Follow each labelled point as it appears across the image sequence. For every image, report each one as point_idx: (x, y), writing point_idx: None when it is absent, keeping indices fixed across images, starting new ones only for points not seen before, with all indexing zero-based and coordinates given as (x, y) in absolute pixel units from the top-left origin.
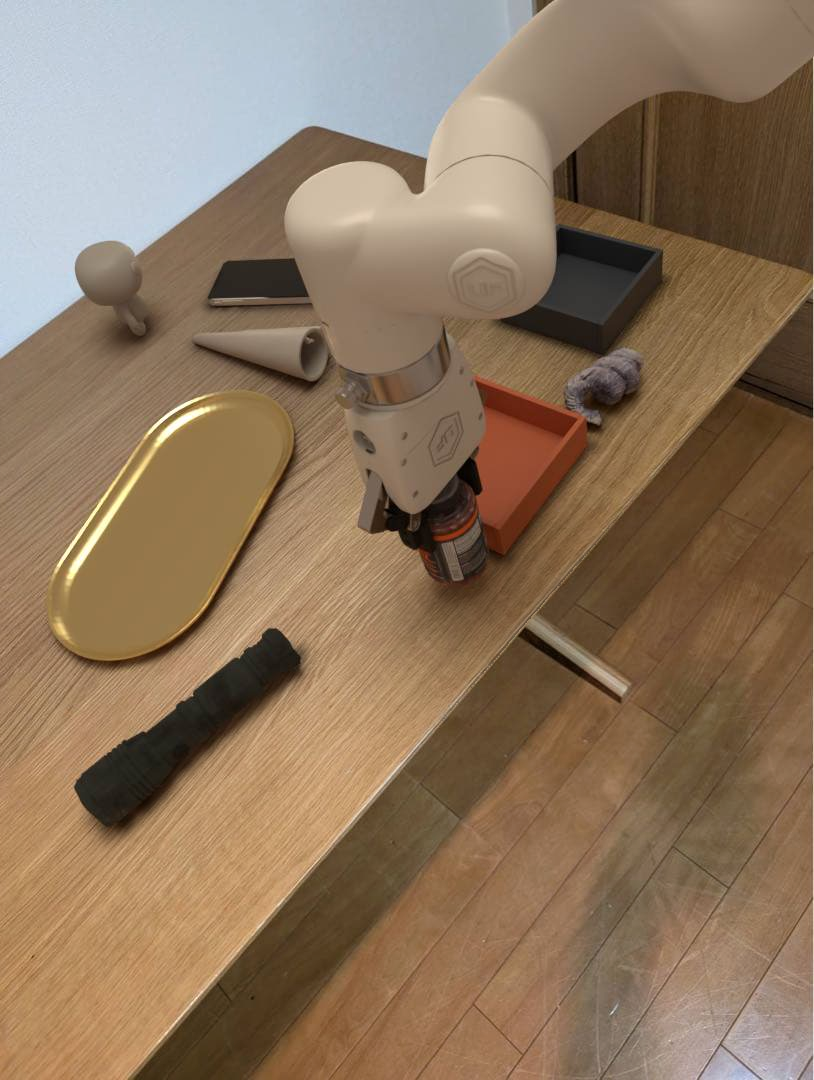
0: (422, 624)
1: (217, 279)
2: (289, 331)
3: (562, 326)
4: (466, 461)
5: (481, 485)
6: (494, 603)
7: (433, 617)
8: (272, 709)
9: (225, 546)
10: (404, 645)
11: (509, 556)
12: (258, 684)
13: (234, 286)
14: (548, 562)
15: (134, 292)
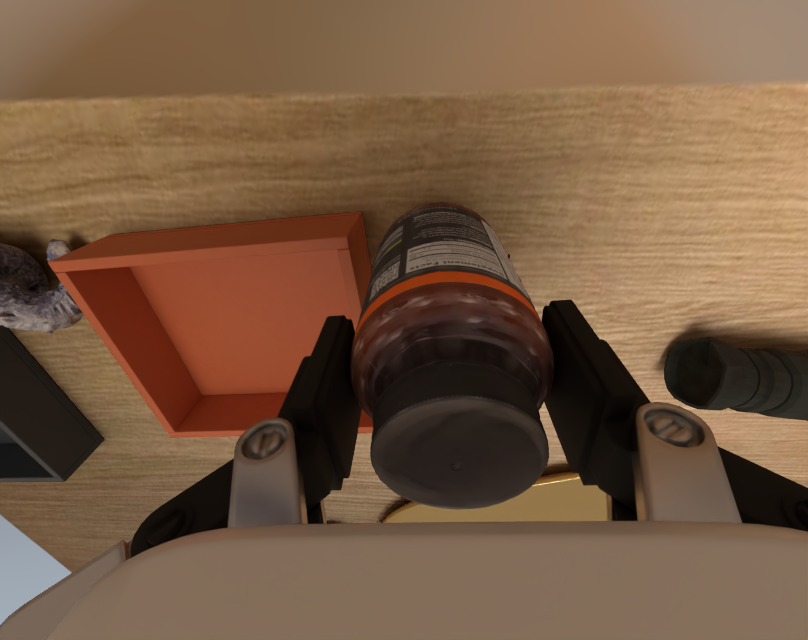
0: (543, 236)
1: None
2: None
3: (16, 389)
4: (311, 429)
5: (322, 328)
6: (447, 160)
7: (523, 230)
8: (764, 320)
9: (554, 484)
10: (591, 235)
11: (356, 202)
12: (790, 364)
13: None
14: (320, 132)
15: None
